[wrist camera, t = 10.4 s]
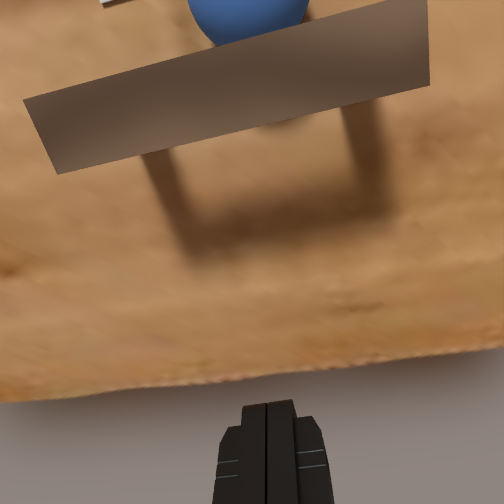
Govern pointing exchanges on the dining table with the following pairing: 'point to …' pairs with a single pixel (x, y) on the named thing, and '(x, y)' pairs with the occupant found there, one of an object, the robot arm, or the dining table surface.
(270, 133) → the dining table surface
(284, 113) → the bridge
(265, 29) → the ball
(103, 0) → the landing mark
